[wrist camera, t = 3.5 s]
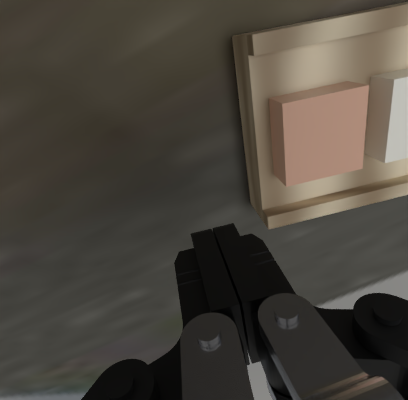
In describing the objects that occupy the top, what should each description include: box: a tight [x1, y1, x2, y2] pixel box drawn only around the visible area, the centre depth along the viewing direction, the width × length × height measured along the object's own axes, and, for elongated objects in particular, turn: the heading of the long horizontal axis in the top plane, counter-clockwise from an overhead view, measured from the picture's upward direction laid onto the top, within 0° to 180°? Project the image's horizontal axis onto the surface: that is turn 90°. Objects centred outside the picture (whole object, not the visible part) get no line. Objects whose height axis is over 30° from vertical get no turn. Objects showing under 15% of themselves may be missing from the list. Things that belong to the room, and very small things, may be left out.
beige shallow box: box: [232, 2, 408, 229], centre depth 21 cm, size 14×12×4 cm
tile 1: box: [269, 81, 369, 187], centre depth 19 cm, size 5×5×2 cm
